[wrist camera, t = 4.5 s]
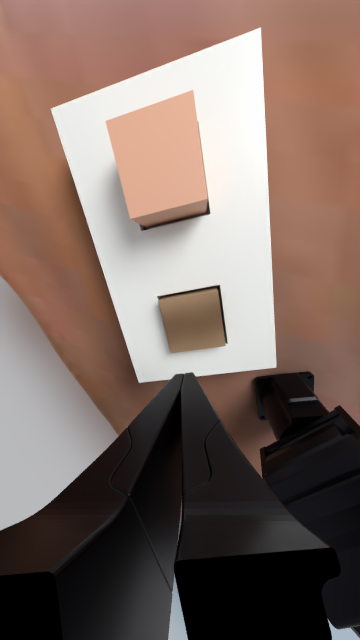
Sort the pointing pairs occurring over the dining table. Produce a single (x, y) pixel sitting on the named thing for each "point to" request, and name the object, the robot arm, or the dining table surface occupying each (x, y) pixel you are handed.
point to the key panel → (191, 233)
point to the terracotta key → (160, 161)
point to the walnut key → (193, 319)
